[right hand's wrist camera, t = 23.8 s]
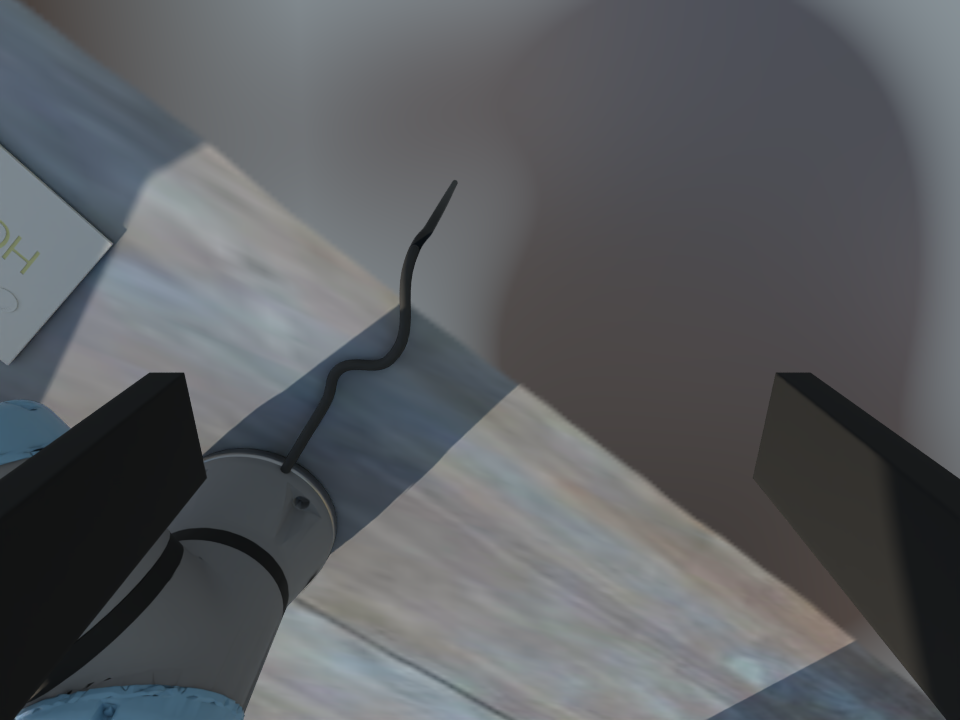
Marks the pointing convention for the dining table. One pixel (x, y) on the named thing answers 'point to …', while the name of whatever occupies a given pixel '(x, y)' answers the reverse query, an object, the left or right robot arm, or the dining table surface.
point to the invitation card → (38, 254)
